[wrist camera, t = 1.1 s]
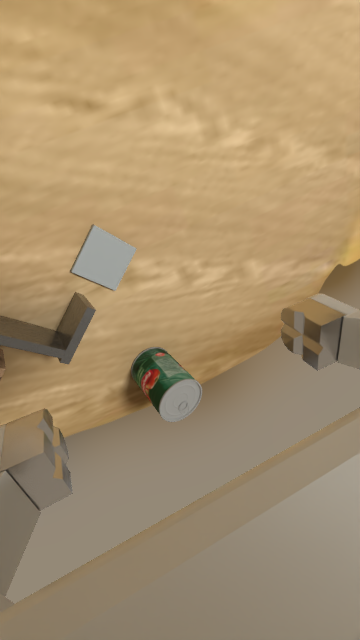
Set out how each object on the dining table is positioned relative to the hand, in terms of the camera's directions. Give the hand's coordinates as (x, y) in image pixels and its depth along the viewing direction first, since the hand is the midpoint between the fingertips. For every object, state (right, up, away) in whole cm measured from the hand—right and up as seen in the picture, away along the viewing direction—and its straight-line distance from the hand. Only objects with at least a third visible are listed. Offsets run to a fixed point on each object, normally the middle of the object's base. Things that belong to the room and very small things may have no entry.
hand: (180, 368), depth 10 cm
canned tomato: (-6, -7, +45) cm, 46 cm away
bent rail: (-20, +3, +30) cm, 36 cm away
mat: (-11, +10, +33) cm, 36 cm away
